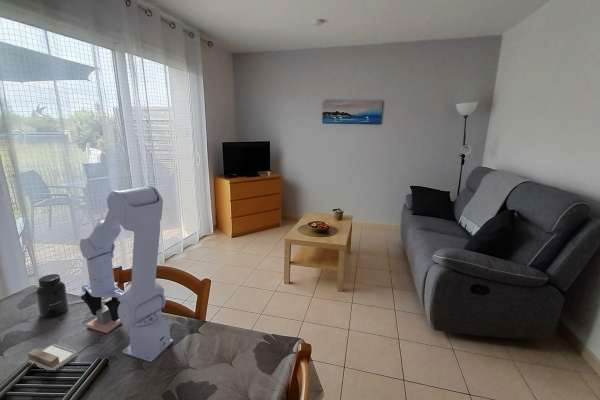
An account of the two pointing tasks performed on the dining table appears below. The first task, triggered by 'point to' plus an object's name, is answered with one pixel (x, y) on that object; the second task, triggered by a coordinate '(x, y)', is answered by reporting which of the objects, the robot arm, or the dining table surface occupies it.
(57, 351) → the board
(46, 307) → the supplement bottle
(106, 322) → the grey and peach block
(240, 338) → the dining table surface
